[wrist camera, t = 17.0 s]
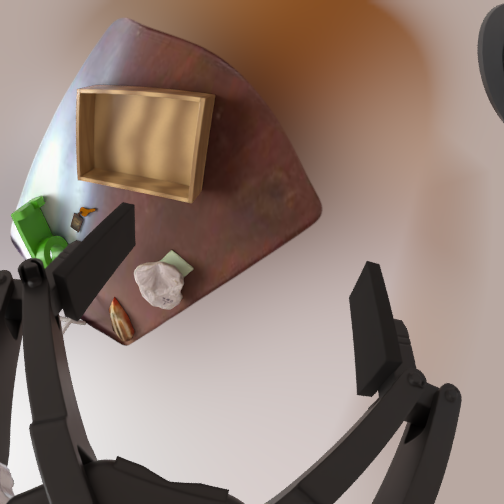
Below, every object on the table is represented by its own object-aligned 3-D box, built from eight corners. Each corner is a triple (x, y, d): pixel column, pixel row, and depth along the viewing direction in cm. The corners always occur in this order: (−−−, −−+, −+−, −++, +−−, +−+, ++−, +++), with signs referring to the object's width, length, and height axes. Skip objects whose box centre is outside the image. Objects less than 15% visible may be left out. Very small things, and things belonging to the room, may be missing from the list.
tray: (215, 94, 36) (205, 98, 33) (201, 190, 44) (192, 203, 41) (95, 84, 37) (76, 89, 33) (93, 169, 45) (77, 180, 41)
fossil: (181, 263, 49) (179, 321, 51) (190, 255, 55) (188, 307, 57) (131, 258, 49) (132, 313, 51) (144, 250, 55) (144, 301, 57)
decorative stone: (100, 294, 62) (96, 300, 60) (120, 297, 61) (117, 303, 59) (120, 338, 69) (117, 344, 68) (139, 342, 69) (136, 348, 67)
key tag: (78, 233, 53) (76, 235, 52) (67, 222, 52) (66, 224, 51) (96, 209, 49) (94, 211, 48) (85, 197, 48) (83, 199, 47)
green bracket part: (62, 259, 58) (75, 258, 57) (43, 280, 52) (55, 279, 51) (33, 198, 50) (45, 194, 49) (9, 215, 44) (20, 211, 43)
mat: (171, 249, 51) (171, 250, 51) (194, 268, 53) (193, 269, 53) (141, 280, 57) (140, 281, 57) (161, 296, 58) (160, 297, 58)
